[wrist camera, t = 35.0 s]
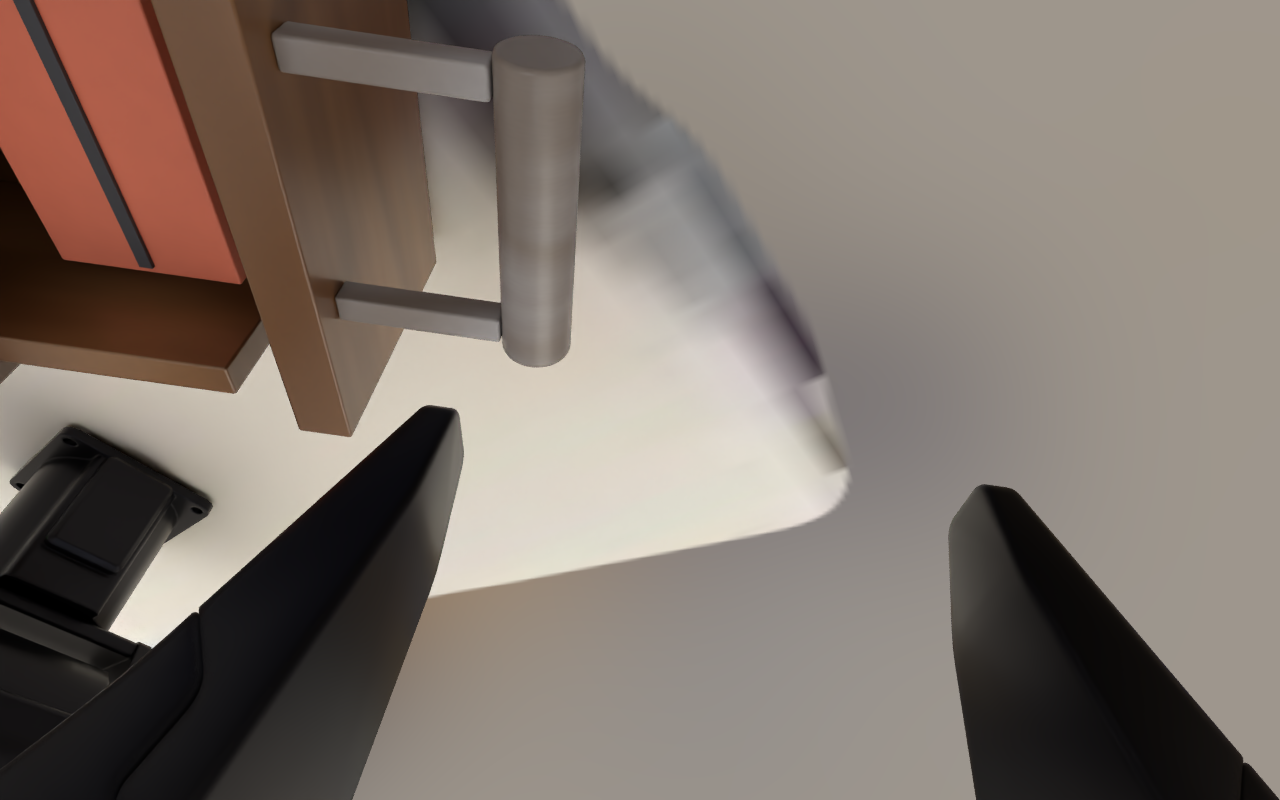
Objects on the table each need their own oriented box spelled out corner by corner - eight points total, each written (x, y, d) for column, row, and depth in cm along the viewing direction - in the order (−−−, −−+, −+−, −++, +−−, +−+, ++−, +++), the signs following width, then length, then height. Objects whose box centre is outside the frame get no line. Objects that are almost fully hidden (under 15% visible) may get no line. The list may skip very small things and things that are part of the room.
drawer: (639, -224, 13) (584, -150, 8) (597, 285, 21) (557, 467, 17) (-389, -382, 13) (-1044, -398, 8) (-31, 195, 21) (-251, 353, 16)
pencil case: (306, 200, 19) (239, 288, 16) (151, 178, 19) (59, 262, 16) (224, -128, 14) (107, -76, 11) (11, -159, 14) (-155, -114, 11)
